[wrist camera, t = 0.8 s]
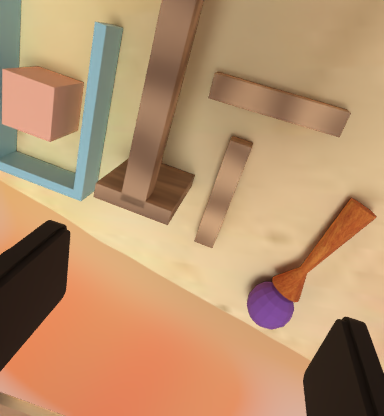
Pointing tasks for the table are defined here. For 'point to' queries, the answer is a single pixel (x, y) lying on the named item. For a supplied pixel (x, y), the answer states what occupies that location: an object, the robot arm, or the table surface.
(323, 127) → the plain stick
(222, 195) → the plain stick
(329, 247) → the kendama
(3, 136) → the cubby
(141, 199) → the crook rake
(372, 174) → the table surface
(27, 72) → the clay-red block
